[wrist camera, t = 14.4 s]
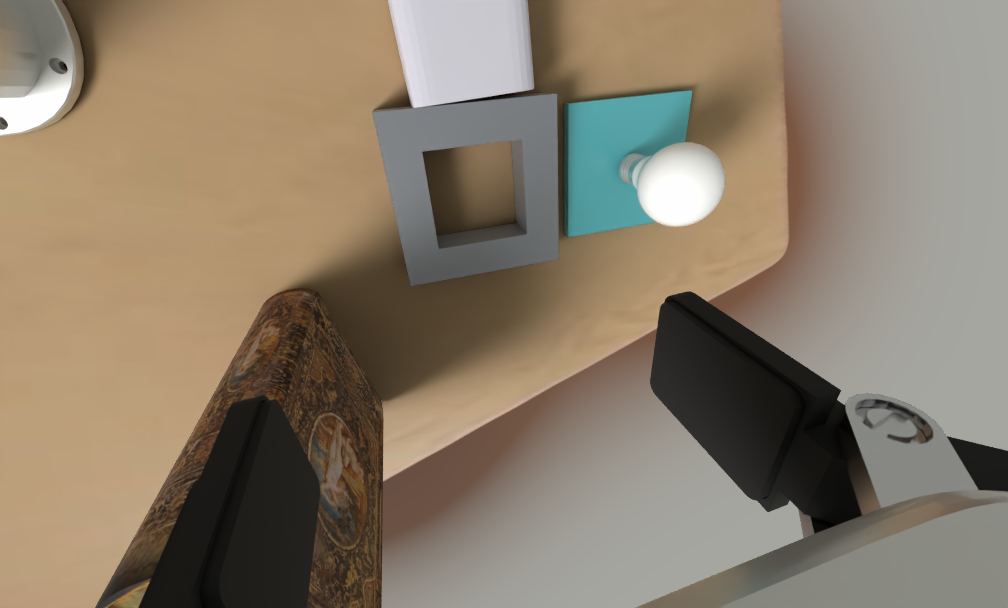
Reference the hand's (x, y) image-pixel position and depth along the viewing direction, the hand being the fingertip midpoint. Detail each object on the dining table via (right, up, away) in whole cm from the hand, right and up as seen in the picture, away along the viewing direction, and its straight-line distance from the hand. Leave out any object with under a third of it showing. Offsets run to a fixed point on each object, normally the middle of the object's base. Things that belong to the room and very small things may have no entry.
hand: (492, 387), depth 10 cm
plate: (+12, +15, +29) cm, 35 cm away
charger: (-4, +25, +19) cm, 32 cm away
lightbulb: (+12, +15, +28) cm, 34 cm away
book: (-18, -4, +31) cm, 36 cm away
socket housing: (-3, +13, +26) cm, 29 cm away
